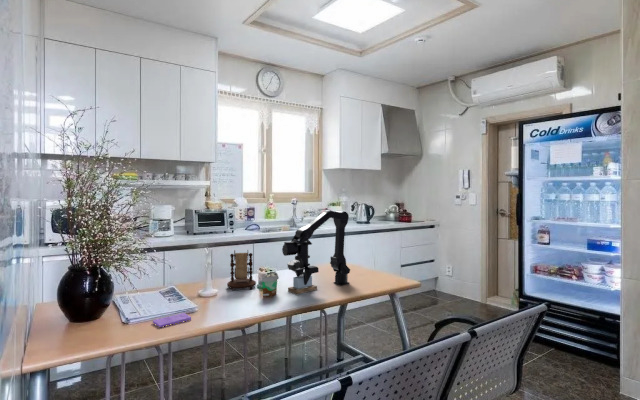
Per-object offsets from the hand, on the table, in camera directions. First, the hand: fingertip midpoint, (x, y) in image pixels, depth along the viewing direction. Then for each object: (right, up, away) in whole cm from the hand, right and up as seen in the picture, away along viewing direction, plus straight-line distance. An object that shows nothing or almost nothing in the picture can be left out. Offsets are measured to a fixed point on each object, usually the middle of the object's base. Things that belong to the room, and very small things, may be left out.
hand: (302, 284), depth 190 cm
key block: (0, -1, 0) cm, 1 cm away
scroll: (-32, -3, +5) cm, 33 cm away
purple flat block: (-50, -6, -43) cm, 66 cm away
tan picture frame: (0, -3, 0) cm, 3 cm away
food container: (-15, -4, -7) cm, 17 cm away
